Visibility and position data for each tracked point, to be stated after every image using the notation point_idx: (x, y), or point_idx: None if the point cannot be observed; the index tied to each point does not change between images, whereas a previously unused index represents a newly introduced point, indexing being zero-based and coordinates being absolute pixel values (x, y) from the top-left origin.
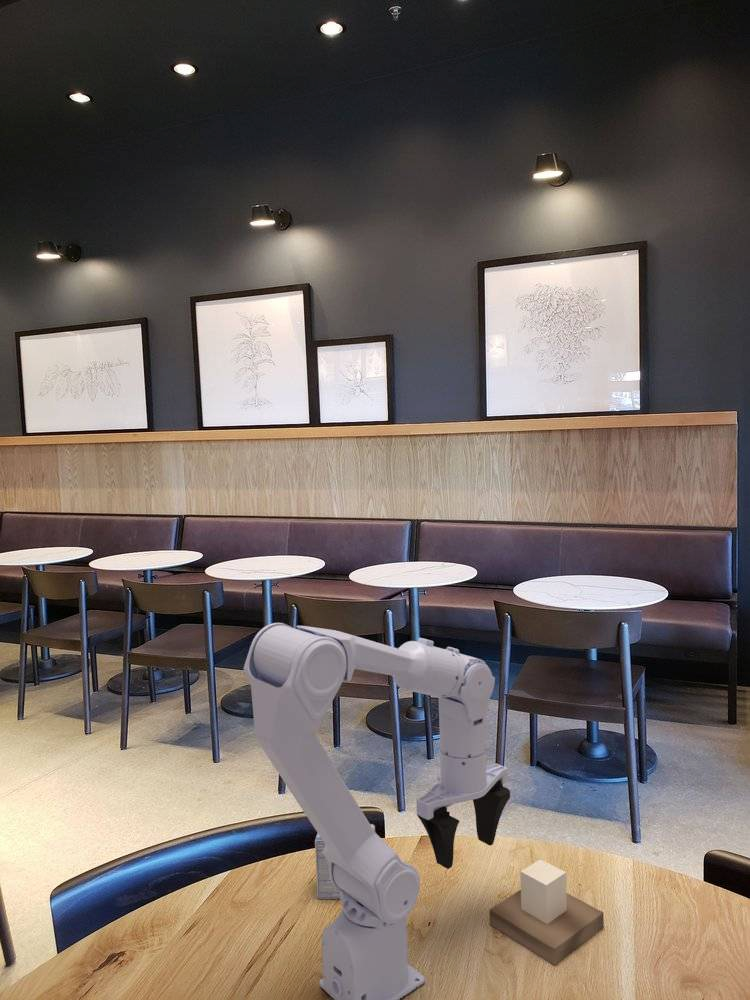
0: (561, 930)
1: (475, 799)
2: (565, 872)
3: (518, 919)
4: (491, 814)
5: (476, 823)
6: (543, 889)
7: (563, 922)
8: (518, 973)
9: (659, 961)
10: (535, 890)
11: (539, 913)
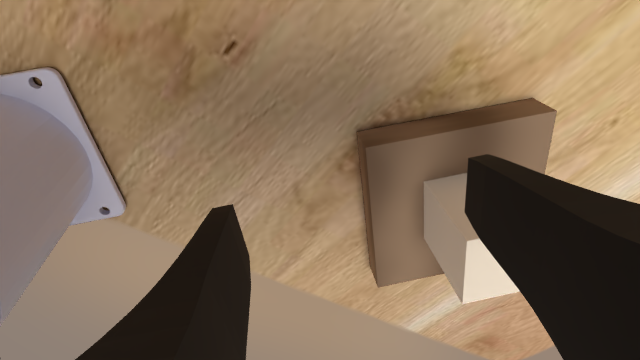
0: (428, 260)
1: (622, 264)
2: None
3: (391, 204)
4: (554, 322)
5: (511, 182)
6: (456, 285)
7: None
8: (306, 255)
9: (494, 311)
10: (450, 257)
11: (429, 231)
